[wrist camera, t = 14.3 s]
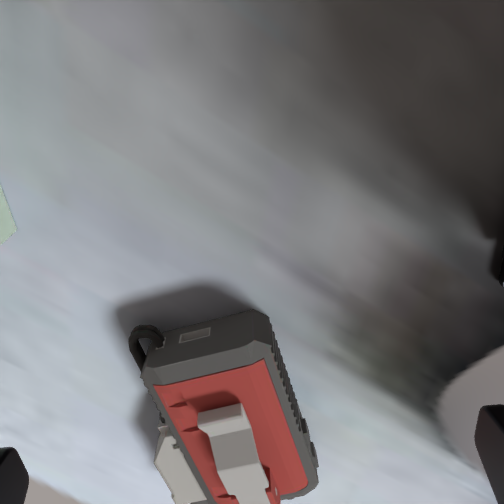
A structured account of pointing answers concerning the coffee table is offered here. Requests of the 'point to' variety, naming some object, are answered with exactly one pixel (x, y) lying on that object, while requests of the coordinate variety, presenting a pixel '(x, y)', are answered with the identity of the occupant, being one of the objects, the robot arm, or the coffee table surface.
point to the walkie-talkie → (226, 413)
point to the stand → (5, 219)
